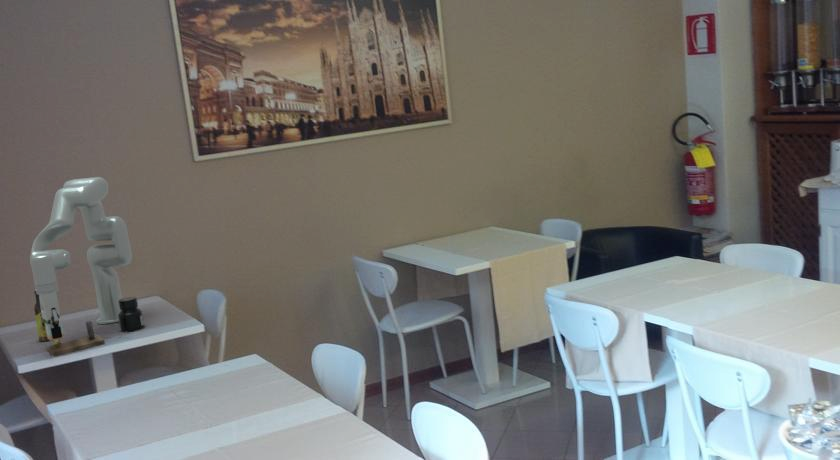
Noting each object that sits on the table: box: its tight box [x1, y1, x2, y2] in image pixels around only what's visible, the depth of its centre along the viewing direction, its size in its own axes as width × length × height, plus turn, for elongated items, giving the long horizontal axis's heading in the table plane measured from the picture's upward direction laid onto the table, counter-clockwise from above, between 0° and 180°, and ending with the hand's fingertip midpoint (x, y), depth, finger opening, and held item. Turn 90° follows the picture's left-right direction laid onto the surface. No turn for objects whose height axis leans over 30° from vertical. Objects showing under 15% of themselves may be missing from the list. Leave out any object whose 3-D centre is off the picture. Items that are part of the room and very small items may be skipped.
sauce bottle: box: [33, 289, 50, 342], centre depth 349 cm, size 6×6×20 cm
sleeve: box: [45, 319, 65, 342], centre depth 329 cm, size 5×5×6 cm
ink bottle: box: [118, 296, 145, 333], centre depth 351 cm, size 10×9×12 cm
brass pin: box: [53, 338, 62, 348], centre depth 330 cm, size 2×2×8 cm
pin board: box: [45, 320, 106, 357], centre depth 333 cm, size 18×12×8 cm, turn 123°
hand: (55, 336), depth 329 cm, fingers closed on sleeve, 5 cm apart
